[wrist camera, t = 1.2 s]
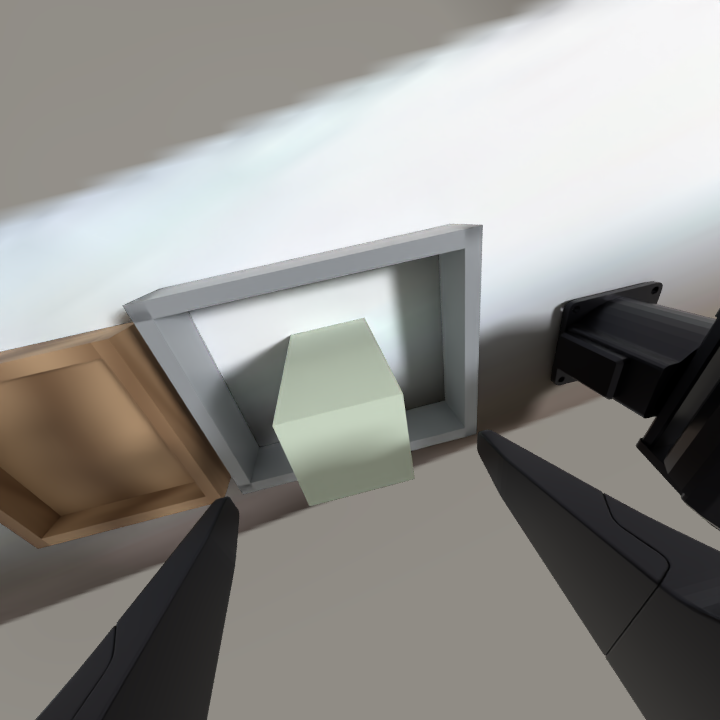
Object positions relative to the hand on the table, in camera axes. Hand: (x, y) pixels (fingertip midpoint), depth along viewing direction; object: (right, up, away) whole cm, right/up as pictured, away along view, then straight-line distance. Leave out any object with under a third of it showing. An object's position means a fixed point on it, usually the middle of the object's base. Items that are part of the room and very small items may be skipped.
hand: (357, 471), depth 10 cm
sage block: (-1, +4, +8) cm, 9 cm away
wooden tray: (-16, -1, +7) cm, 18 cm away
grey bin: (-1, +4, +8) cm, 9 cm away
